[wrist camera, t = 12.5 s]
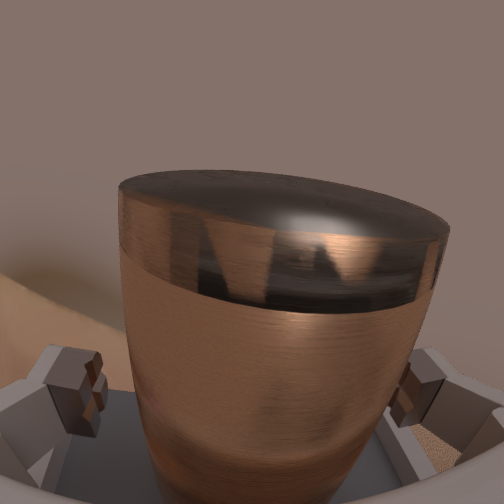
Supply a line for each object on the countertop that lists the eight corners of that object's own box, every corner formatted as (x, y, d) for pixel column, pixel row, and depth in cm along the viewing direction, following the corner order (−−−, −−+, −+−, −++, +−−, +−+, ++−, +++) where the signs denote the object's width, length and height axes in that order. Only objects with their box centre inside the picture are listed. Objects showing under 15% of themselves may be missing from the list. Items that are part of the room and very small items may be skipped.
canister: (285, 475, 13) (360, 183, 8) (308, 566, 8) (519, 252, 3) (173, 477, 12) (153, 165, 8) (173, 574, 7) (48, 221, 2)
